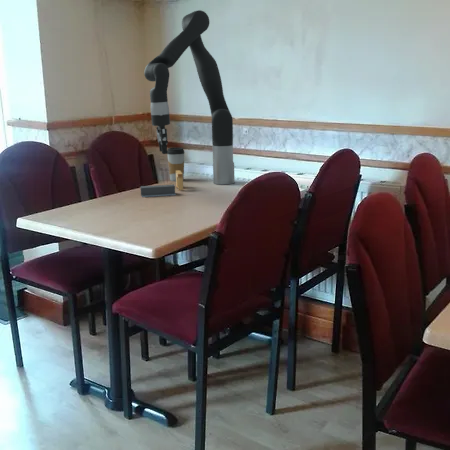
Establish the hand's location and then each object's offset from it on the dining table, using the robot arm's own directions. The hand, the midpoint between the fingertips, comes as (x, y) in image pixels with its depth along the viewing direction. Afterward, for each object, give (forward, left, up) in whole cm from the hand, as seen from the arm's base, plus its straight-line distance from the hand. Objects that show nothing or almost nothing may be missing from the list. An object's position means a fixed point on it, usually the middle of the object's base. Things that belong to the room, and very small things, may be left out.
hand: (163, 152), depth 240 cm
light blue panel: (+3, +5, -17) cm, 18 cm away
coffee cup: (-8, -27, -17) cm, 33 cm away
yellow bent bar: (-7, -6, -17) cm, 19 cm away
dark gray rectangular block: (+4, +5, -16) cm, 18 cm away
